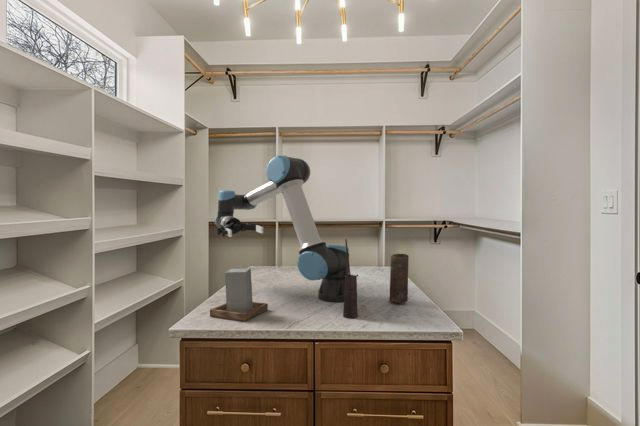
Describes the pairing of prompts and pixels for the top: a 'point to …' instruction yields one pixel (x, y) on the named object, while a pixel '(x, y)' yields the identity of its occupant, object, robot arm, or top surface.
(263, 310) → the walnut tray
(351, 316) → the butter churn
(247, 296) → the skincare box
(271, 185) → the robot arm
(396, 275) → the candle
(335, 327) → the top surface
